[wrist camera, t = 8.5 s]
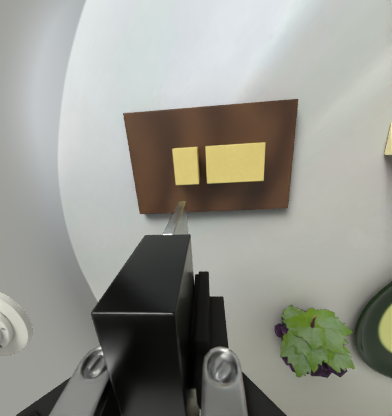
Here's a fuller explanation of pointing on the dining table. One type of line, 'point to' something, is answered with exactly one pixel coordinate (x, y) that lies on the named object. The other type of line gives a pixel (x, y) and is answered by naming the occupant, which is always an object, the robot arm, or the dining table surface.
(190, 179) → the butter pat
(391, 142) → the milk carton
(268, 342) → the dining table surface
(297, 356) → the fruit
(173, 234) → the knife
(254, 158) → the butter
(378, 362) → the plate
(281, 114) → the butter board
